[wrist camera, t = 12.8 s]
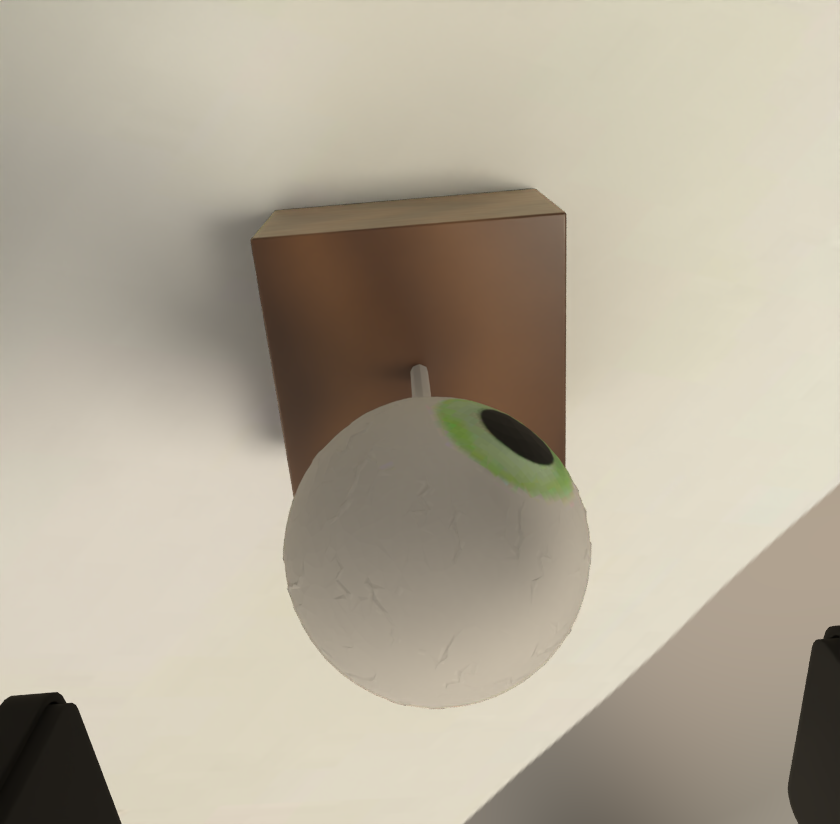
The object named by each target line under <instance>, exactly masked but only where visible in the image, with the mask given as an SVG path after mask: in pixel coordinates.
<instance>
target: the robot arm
mask: <svg viewBox="0 0 840 824" xmlns="http://www.w3.org/2000/svg"><path fill="white" fill-rule="evenodd" d="M788 795H789V800H790V804H791V807H792V810H793V813H794V815H795V818H796V819H797V822H798V824H840V626H832V627H829V628H828V629H827V630H826V632H825V635H824V639H819V640H816V641H815V642H814V643H813V646H812V651H811V656H810V662H809V668H808V674H807V679H806V685H805V691H804V696H803V702H802V708H801V713H800V719H799V725H798V731H797V736H796V742H795V748H794V753H793V760H792V765H791V771H790V776H789V782H788ZM0 824H121V821H120V818H119V816H118V813H117V810H116V808H115V805H114V802H113V800H112V797H111V795H110V792H109V789H108V787H107V784H106V781H105V779H104V776H103V773H102V771H101V768H100V765H99V763H98V760H97V757H96V755H95V752H94V750H93V747H92V744H91V742H90V739H89V736H88V734H87V731H86V728H85V726H84V723H83V720H82V718H81V715H80V713H79V710H78V708H77V706H76V705H75V704H73V703H66V701H65V700H64V698H63V696H62V695H61V694H59V693H58V692H52V693H41V694H29V695H17V696H10V697H9V698H7V699H5V700H4V702H3V703H2V704H1V705H0Z"/></svg>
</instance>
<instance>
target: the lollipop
mask: <svg viewBox="0 0 840 824" xmlns="http://www.w3.org/2000/svg"><path fill="white" fill-rule="evenodd" d="M410 373H411V387H412V398H407V399H403V400H399V401H395V402H392V403H389V404H386V405H384V406H381V407H378V408H376V409H374V410H372V411H370V412H367V413H366V414H364V415H362V416H361V417H359V418H358V419H356V420H355V421H353V422H352V423H351V424H350V425H349V426H348V427H346V428H344V429H343V430H342V431H341V432H340V433H339V434H337V435H336V436H335V437H334V438H333V439H332V440H331V441H330V442H329V443H328V444H327V445H326V446H325V447H324V448H323V449H322V450H321V451H320V452H318V454H317V455H316V456H315V458H314V459H313V460H312V464H311V465H310V467H309V468H308V470H307V471H306V473H305V474H304V476H303V478H302V480H301V482H300V484H299V487H298V489H297V491H296V494H295V496H294V499H293V501H292V505H291V508H290V512H289V517H288V521H287V525H286V531H285V539H284V547H283V560H284V563H285V571H286V578H287V584H288V592H289V594H290V597H291V600H292V603H293V606H294V610H295V612H296V613H297V616H298V618H299V620H300V622H301V624H302V626H303V628H304V629H305V631H306V633H307V634H308V636H309V638H310V640H311V641H312V642H313V644H314V645H315V646H316V648H317V649H318V650H319V651H320V653H321V654H322V655H323V656H324V658H325V659H326V660H327V661H328V662H329V663H330V664H331V665H332V666H333V667H334V668H336V669H337V670H338V671H339V672H340V673H341V674H342V675H344V676H345V677H347V678H348V679H349V680H351V681H352V682H354V683H355V684H357V685H358V686H360V687H362V688H364V689H365V690H367V691H369V692H371V693H373V694H375V695H377V696H379V697H382V698H385V699H387V700H389V701H391V702H393V703H397V704H401V705H404V706H406V705H408V706H414V707H422V708H429V709H444V708H449V707H460V706H466V705H471V704H475V703H478V702H482V701H485V700H487V699H490V698H493V697H496V696H498V695H500V694H503V693H505V692H507V691H508V690H510V689H512V688H514V687H516V686H517V685H519V684H521V683H523V682H524V681H525V680H526V679H528V678H529V677H530V676H532V675H533V674H534V673H535V672H536V671H538V670H539V669H540V668H541V667H542V666H544V665H545V664H546V663H547V661H548V660H549V659H550V658H551V657H552V656H553V654H554V653H555V652H556V651H557V649H558V648H559V647H560V645H561V644H562V643H563V641H564V640H565V638H566V637H567V635H568V634H569V633H570V632H571V628H572V626H573V624H574V622H575V620H576V618H577V615H578V613H579V610H580V607H581V604H582V601H583V598H584V595H585V591H586V587H587V583H588V576H589V569H590V564H591V542H590V536H589V528H588V524H587V519H586V510H585V508H584V506H583V503H582V500H581V498H580V496H579V490H578V489H577V487H576V485H575V484H574V482H573V480H572V478H571V476H570V474H569V472H568V471H567V470H566V468H565V467H564V465H563V464H562V462H561V461H560V459H559V458H558V457H557V456H556V455H555V453H554V452H553V451H552V450H551V449H550V448H549V447H548V445H547V444H546V443H545V442H544V441H543V440H542V439H541V438H539V437H538V436H537V435H536V434H535V433H534V432H533V431H531V430H530V429H529V428H527V427H526V426H525V425H524V424H522V423H521V422H519V421H518V420H516V419H514V418H513V417H511V416H510V415H508V414H506V413H503V412H501V411H499V410H496V409H494V408H492V407H489V406H486V405H483V404H480V403H477V402H474V401H469V400H465V399H458V398H452V397H431V392H430V384H429V377H428V371H427V367H425V366H423V365H420V364H419V365H416V366H413V368H412V370H411V372H410Z"/></svg>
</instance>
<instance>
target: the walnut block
mask: <svg viewBox="0 0 840 824" xmlns="http://www.w3.org/2000/svg"><path fill="white" fill-rule="evenodd" d="M251 246H252V252H253V258H254V264H255V270H256V276H257V282H258V288H259V294H260V300H261V306H262V312H263V318H264V324H265V330H266V336H267V342H268V348H269V354H270V359H271V365H272V371H273V377H274V383H275V389H276V395H277V401H278V407H279V413H280V419H281V425H282V431H283V437H284V443H285V449H286V455H287V461H288V467H289V472H290V478H291V484H292V490H293V496H295V494H296V491H297V489H298V487H299V484H300V482H301V480H302V478H303V476H304V474H305V473H306V471H307V470H308V468H309V467H310V465H311V464H312V460H313V459H314V458H315V456H316V455H317V454H318V452H320V451H321V450H322V449H323V448H324V447H325V446H326V445H327V444H328V443H329V442H330V441H331V440H332V439H333V438H334V437H335V436H336V435H337V434H339V433H340V432H341V431H342V430H343V429H344V428H346V427H348V426H349V425H350V424H351V423H352V422H353V421H355V420H356V419H358V418H359V417H361V416H362V415H364V414H366V413H367V412H370V411H372V410H374V409H376V408H378V407H381V406H384V405H386V404H389V403H392V402H395V401H399V400H403V399H407V398H412V387H411V373H410V372H411V370H412V368H413V366H416V365H419V364H420V365H423V366H425V367H427V371H428V377H429V384H430V392H431V397H452V398H458V399H465V400H469V401H474V402H477V403H480V404H483V405H486V406H489V407H492V408H494V409H496V410H499V411H501V412H503V413H506V414H508V415H510V416H511V417H513V418H514V419H516V420H518V421H519V422H521V423H522V424H524V425H525V426H526V427H527V428H529V429H530V430H531V431H533V432H534V433H535V434H536V435H537V436H538V437H539V438H541V439H542V440H543V441H544V442H545V443H546V444H547V445H548V447H549V448H550V449H551V450H552V451H553V452H554V453H555V455H556V456H557V457H558V458H559V459H560V461H561V462H562V464H563V465H564V467H565V445H566V213H565V212H564V211H563V210H562V209H560V208H559V207H558V206H557V205H555V204H554V203H553V202H552V201H550V200H549V199H548V198H547V197H545V196H544V195H543V194H542V193H540V192H539V191H538V190H537V189H525V190H513V191H501V192H489V193H477V194H465V195H453V196H441V197H429V198H417V199H405V200H393V201H381V202H369V203H357V204H345V205H333V206H322V207H310V208H298V209H286V210H276V211H274V212H273V214H272V215H271V216H270V217H269V218H268V220H267V221H266V222H265V223H264V224H263V225H262V227H261V228H260V229H259V230H258V231H257V233H256V234H255V235H254V236H253V237H252V238H251Z"/></svg>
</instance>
